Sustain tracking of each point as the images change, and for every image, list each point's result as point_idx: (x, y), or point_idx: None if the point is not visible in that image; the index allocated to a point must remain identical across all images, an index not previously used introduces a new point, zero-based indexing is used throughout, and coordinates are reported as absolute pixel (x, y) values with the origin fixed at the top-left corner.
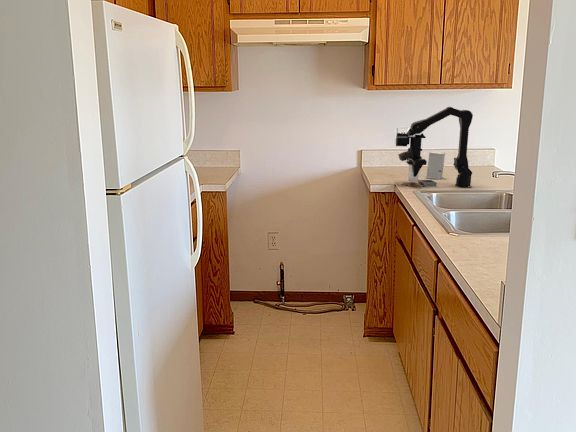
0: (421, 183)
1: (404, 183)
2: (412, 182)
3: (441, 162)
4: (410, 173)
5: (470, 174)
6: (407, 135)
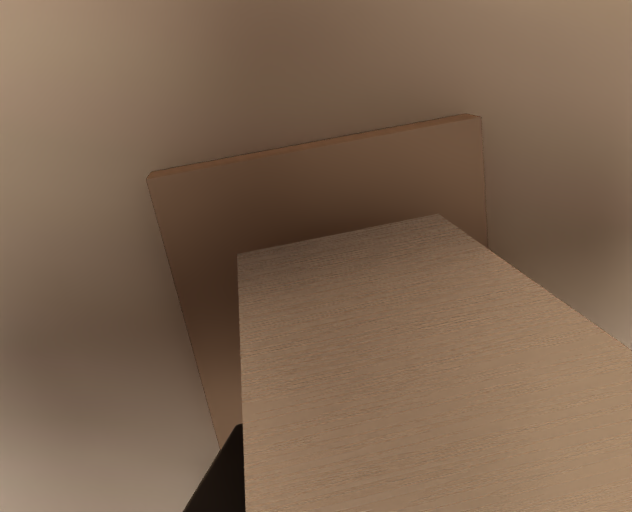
0: None
1: (454, 117)
2: None
3: None
4: (354, 356)
5: None
6: None
